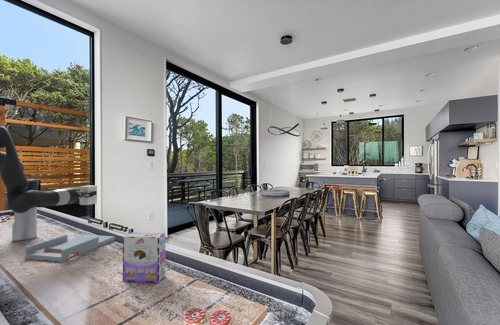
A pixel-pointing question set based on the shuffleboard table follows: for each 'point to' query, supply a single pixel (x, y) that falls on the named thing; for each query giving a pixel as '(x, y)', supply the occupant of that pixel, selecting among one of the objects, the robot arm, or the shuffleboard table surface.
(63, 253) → the trough
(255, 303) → the shuffleboard table surface
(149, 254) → the candy box
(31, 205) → the robot arm
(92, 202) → the cream block
